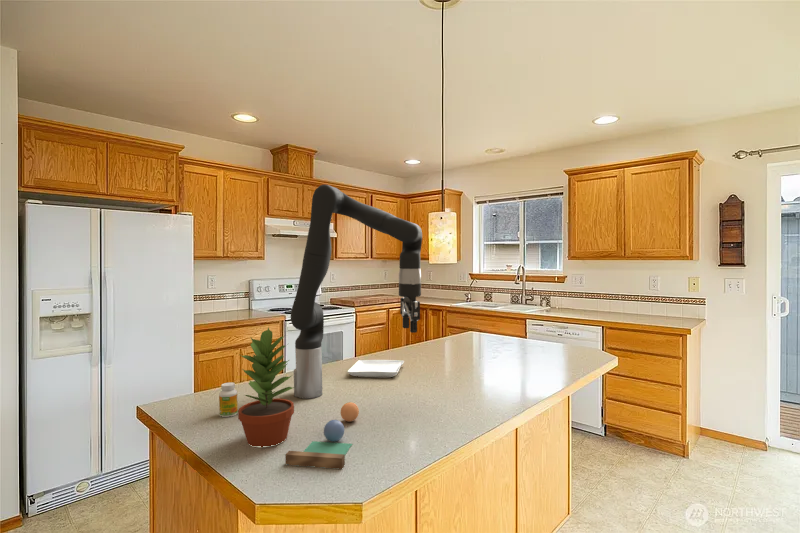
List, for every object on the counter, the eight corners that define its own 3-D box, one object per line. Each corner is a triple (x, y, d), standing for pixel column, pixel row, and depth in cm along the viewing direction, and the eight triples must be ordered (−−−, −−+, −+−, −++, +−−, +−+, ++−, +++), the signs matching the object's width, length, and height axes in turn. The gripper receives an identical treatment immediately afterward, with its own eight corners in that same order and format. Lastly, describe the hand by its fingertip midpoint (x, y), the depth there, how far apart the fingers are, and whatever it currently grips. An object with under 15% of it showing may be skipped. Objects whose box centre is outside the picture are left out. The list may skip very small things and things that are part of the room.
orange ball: (338, 424, 125) (337, 405, 125) (344, 417, 131) (343, 399, 131) (356, 425, 124) (355, 406, 124) (361, 418, 130) (360, 400, 130)
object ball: (320, 444, 112) (320, 423, 112) (328, 435, 117) (327, 416, 117) (340, 445, 111) (340, 424, 111) (347, 437, 116) (346, 417, 116)
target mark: (295, 461, 103) (295, 460, 103) (312, 441, 113) (312, 441, 113) (338, 464, 101) (338, 463, 101) (352, 444, 111) (352, 443, 111)
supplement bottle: (220, 418, 131) (219, 387, 131) (218, 413, 136) (218, 383, 136) (238, 415, 134) (238, 384, 134) (236, 410, 139) (236, 380, 138)
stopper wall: (285, 464, 101) (285, 454, 101) (289, 460, 103) (289, 450, 103) (342, 469, 98) (341, 458, 98) (344, 465, 100) (344, 454, 100)
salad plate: (358, 366, 195) (358, 358, 194) (404, 367, 192) (404, 359, 192) (346, 379, 174) (346, 371, 174) (397, 380, 171) (397, 372, 171)
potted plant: (240, 457, 105) (237, 336, 105) (237, 434, 119) (234, 327, 119) (301, 445, 111) (298, 331, 111) (291, 425, 125) (289, 323, 125)
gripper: (393, 281, 148) (393, 327, 149) (405, 283, 135) (405, 334, 135) (413, 280, 151) (413, 326, 151) (427, 283, 137) (427, 333, 137)
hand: (409, 330), depth 143 cm, fingers open, 8 cm apart
